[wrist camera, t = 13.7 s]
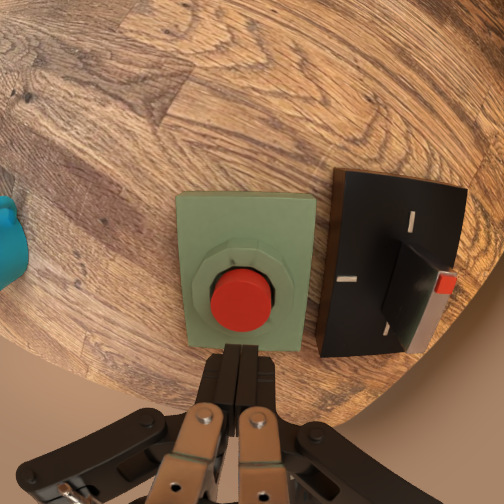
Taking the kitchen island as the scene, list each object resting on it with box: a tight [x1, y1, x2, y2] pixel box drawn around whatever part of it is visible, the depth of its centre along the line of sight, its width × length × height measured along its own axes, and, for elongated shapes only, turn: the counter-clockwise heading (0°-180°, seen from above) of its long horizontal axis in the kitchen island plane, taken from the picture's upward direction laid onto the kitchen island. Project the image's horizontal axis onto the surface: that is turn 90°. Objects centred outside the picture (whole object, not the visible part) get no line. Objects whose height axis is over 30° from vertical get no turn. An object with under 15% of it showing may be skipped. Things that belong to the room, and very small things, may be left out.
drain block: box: [175, 191, 317, 351], centre depth 20 cm, size 12×9×4 cm
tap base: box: [315, 167, 468, 358], centre depth 19 cm, size 14×10×3 cm
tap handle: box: [381, 241, 457, 354], centre depth 15 cm, size 6×2×5 cm, turn 174°
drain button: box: [210, 268, 271, 332], centre depth 17 cm, size 4×4×2 cm
